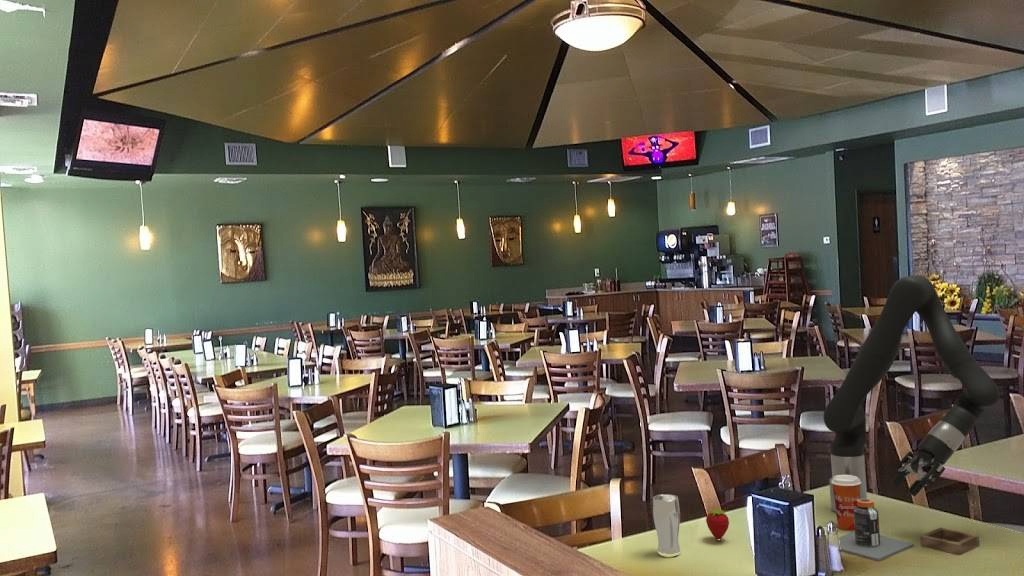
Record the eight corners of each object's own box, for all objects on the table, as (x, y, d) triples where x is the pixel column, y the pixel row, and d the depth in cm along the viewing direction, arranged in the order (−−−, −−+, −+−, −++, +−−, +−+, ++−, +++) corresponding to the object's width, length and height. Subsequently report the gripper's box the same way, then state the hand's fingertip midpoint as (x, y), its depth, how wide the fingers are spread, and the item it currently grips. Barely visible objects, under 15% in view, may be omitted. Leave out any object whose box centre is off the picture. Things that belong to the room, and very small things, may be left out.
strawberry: (723, 535, 229) (721, 499, 228) (734, 543, 221) (732, 506, 221) (703, 537, 228) (701, 501, 228) (713, 546, 220) (711, 509, 220)
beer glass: (684, 550, 219) (680, 494, 219) (680, 559, 212) (676, 501, 212) (658, 548, 221) (654, 493, 221) (653, 557, 214) (650, 500, 214)
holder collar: (920, 545, 210) (920, 536, 210) (941, 536, 215) (940, 527, 215) (959, 554, 202) (958, 544, 202) (979, 545, 207) (978, 535, 207)
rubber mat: (822, 546, 215) (822, 543, 215) (857, 532, 224) (857, 529, 224) (878, 561, 201) (878, 558, 201) (914, 545, 210) (914, 543, 210)
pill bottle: (884, 546, 210) (881, 502, 209) (861, 547, 210) (858, 504, 210) (874, 538, 216) (871, 496, 215) (851, 540, 216) (849, 497, 216)
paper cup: (833, 530, 226) (830, 480, 226) (834, 522, 233) (831, 473, 233) (864, 532, 223) (861, 481, 223) (864, 523, 230) (860, 474, 230)
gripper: (915, 428, 220) (877, 474, 220) (947, 438, 206) (906, 487, 206) (935, 446, 221) (897, 491, 220) (968, 457, 207) (927, 506, 206)
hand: (901, 489), depth 213 cm, fingers open, 8 cm apart
